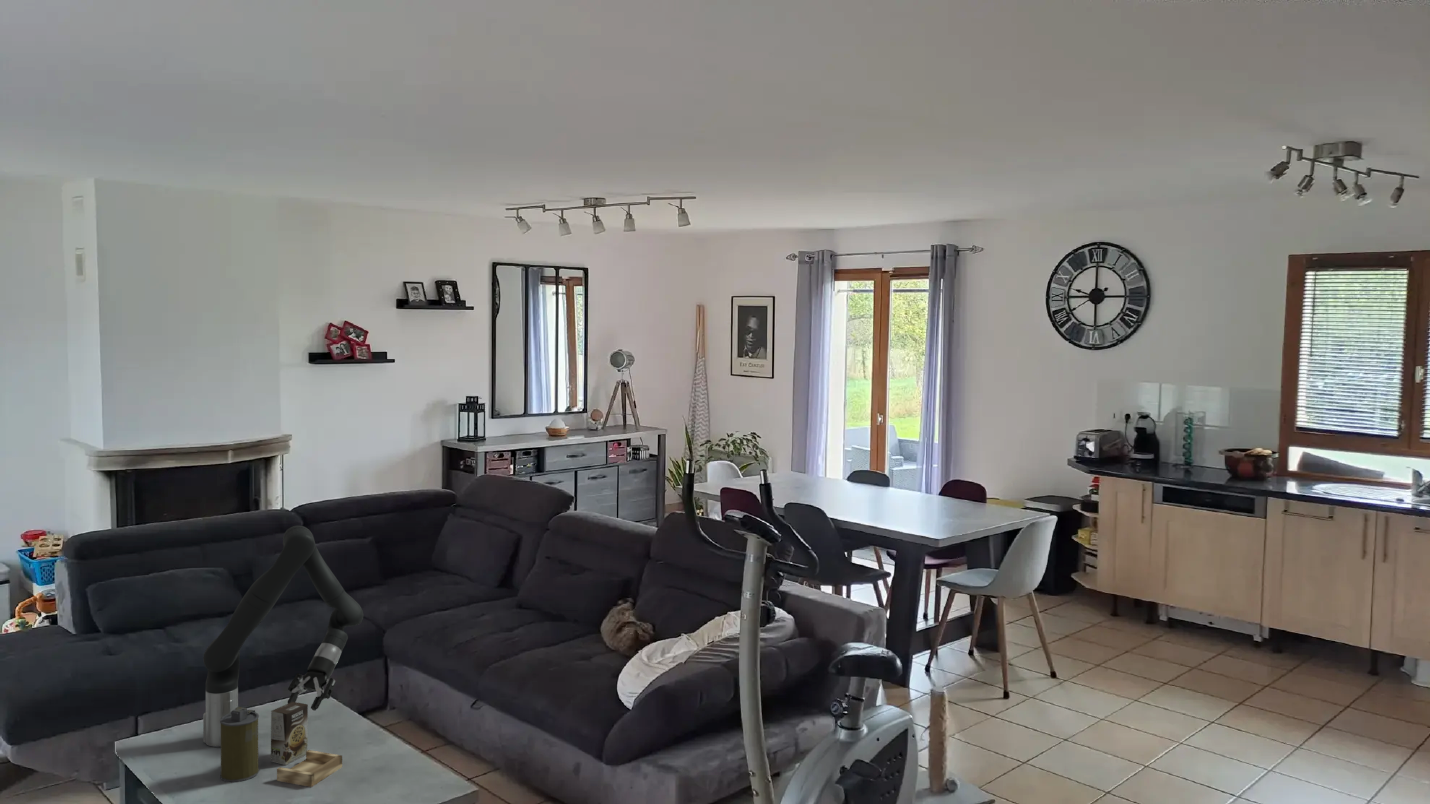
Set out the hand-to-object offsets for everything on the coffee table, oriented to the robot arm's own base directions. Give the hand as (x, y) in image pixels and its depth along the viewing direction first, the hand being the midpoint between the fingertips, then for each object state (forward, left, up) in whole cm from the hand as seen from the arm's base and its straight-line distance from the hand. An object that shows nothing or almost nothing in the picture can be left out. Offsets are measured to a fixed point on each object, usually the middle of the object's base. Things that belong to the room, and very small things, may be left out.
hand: (301, 707), depth 313 cm
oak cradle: (+13, -13, -14) cm, 23 cm away
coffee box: (0, -6, -14) cm, 15 cm away
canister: (-6, -20, -14) cm, 25 cm away
